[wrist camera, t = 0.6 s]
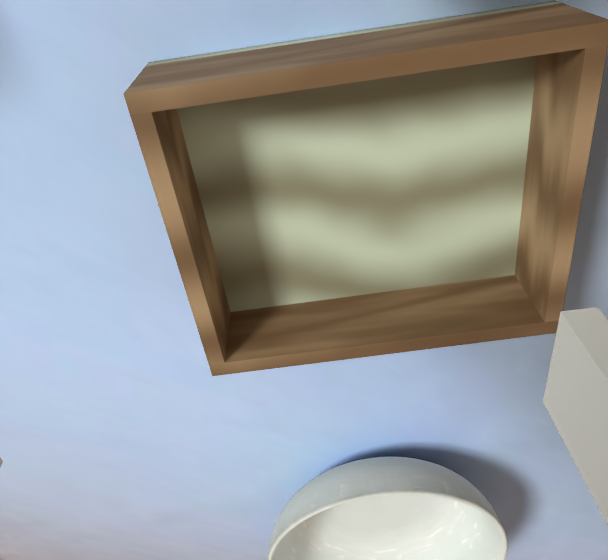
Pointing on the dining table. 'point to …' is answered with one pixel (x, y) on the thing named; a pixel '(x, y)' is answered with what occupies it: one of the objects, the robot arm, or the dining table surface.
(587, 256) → the dining table surface
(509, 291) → the crate
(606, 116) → the dining table surface
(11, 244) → the dining table surface
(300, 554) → the serving bowl
